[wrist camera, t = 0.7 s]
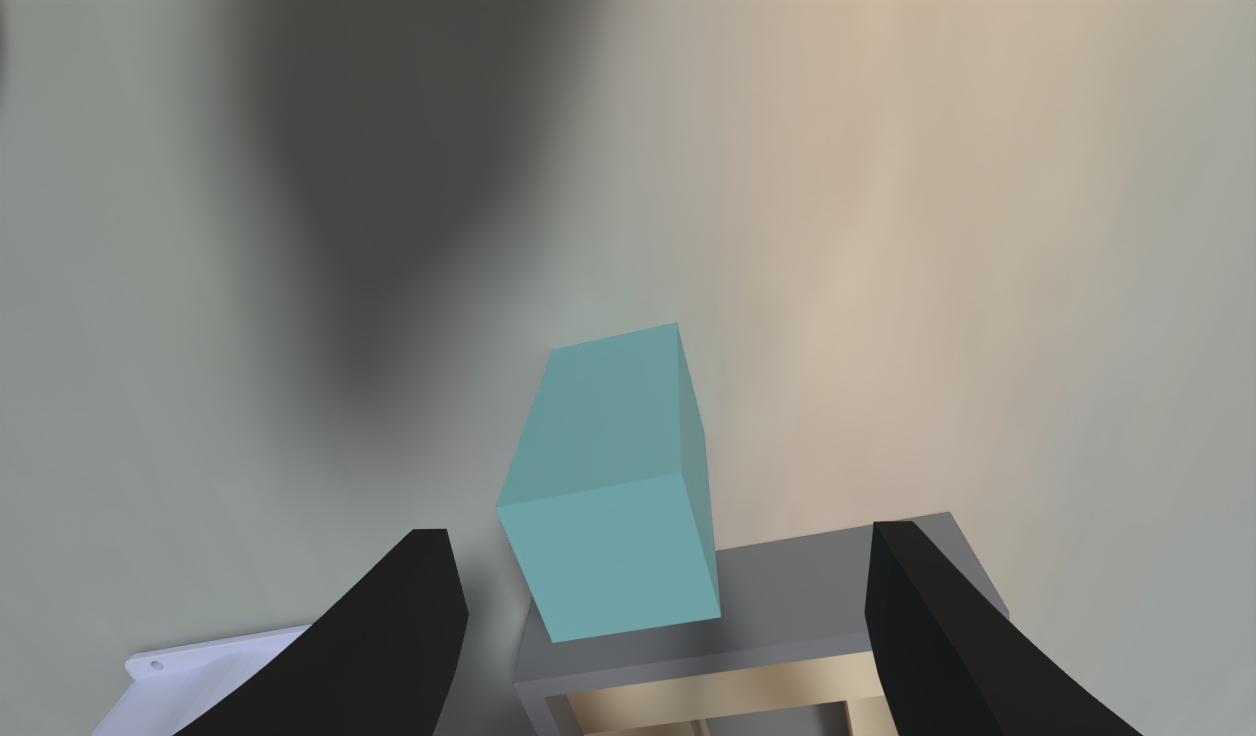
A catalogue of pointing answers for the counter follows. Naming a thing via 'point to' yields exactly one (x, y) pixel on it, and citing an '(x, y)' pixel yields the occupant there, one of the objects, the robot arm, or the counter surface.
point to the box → (738, 631)
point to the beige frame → (738, 698)
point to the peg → (614, 491)
